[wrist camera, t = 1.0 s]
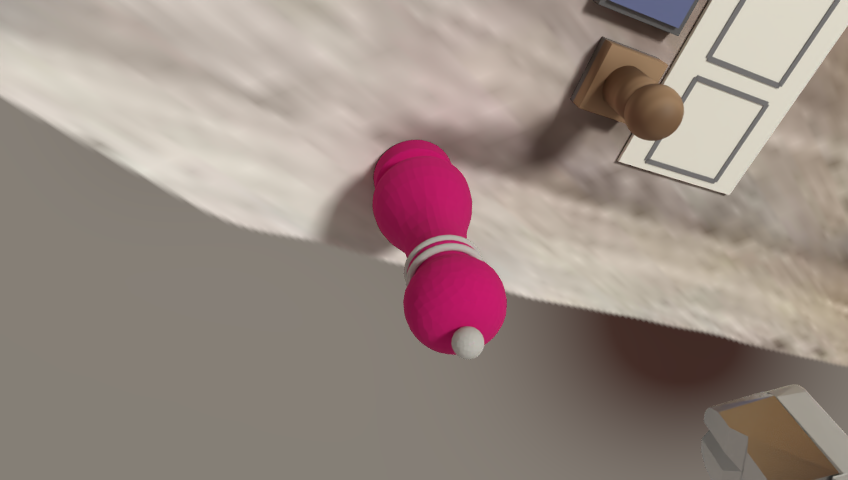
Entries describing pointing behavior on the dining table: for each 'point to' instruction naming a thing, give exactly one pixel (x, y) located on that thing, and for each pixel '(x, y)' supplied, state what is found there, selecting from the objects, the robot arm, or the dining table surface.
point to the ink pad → (655, 12)
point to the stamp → (629, 91)
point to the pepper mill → (437, 249)
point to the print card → (738, 85)
